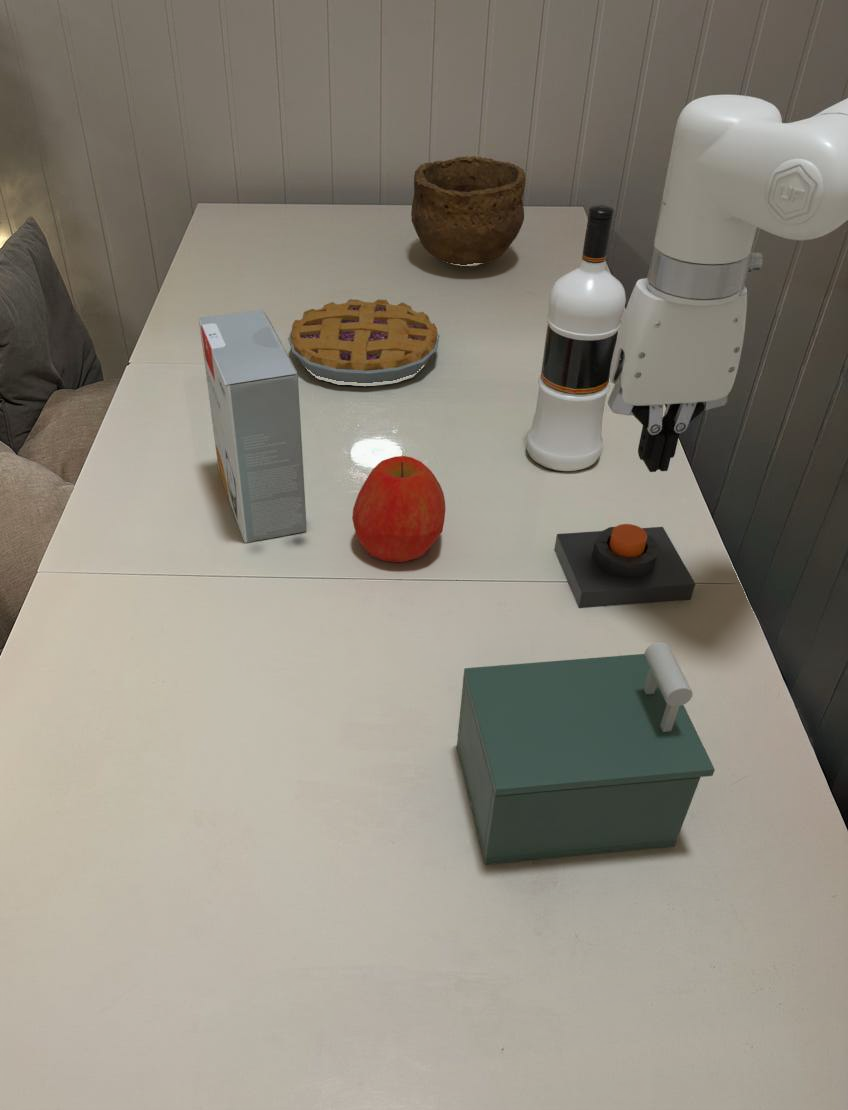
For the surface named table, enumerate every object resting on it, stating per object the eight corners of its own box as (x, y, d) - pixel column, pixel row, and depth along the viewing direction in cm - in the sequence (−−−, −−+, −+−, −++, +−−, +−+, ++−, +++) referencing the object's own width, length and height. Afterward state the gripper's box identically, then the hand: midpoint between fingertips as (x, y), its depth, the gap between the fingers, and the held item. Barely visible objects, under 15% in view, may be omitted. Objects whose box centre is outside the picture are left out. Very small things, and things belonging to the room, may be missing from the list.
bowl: (393, 274, 161) (394, 180, 151) (432, 236, 173) (435, 147, 163) (499, 292, 155) (508, 196, 145) (531, 251, 168) (541, 161, 158)
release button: (637, 536, 101) (640, 522, 100) (648, 556, 98) (652, 543, 97) (604, 538, 101) (607, 524, 100) (615, 559, 98) (618, 545, 97)
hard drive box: (216, 471, 117) (197, 315, 103) (277, 461, 118) (266, 306, 105) (243, 545, 106) (224, 381, 92) (309, 533, 107) (301, 370, 94)
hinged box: (626, 729, 86) (646, 660, 80) (674, 846, 77) (700, 777, 71) (456, 744, 85) (463, 675, 78) (485, 864, 75) (495, 796, 69)
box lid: (656, 659, 80) (671, 607, 76) (712, 776, 71) (733, 724, 67) (463, 674, 78) (468, 622, 74) (495, 796, 69) (502, 744, 65)
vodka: (515, 464, 118) (546, 213, 97) (538, 428, 124) (571, 186, 103) (588, 481, 115) (635, 227, 94) (607, 444, 121) (656, 198, 100)
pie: (290, 325, 146) (288, 293, 143) (431, 322, 147) (433, 291, 144) (287, 395, 130) (285, 361, 127) (445, 392, 131) (447, 358, 128)
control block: (658, 542, 106) (666, 512, 103) (690, 600, 99) (699, 570, 96) (554, 549, 105) (558, 520, 102) (578, 608, 98) (584, 578, 95)
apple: (455, 565, 103) (462, 484, 96) (363, 578, 101) (362, 496, 94) (431, 511, 110) (435, 432, 103) (344, 523, 109) (342, 443, 102)
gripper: (765, 248, 81) (715, 438, 93) (594, 257, 80) (566, 448, 92) (804, 283, 75) (745, 480, 88) (620, 294, 74) (587, 491, 87)
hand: (653, 463), depth 90 cm, fingers closed
